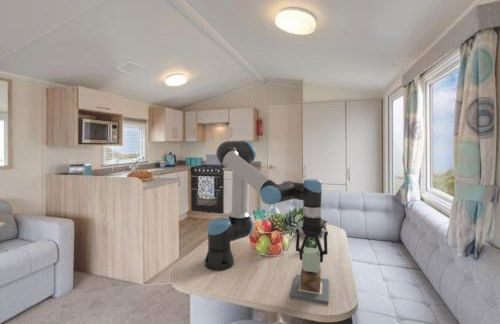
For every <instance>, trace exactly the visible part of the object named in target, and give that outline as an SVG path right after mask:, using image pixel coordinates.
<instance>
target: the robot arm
mask: <svg viewBox="0 0 500 324" xmlns="http://www.w3.org/2000/svg"><path fill="white" fill-rule="evenodd" d="M215 153H216V159H217V161H218V163H220V165H221V166H223V167H224V168H226V169H230V170H231V171H232V175H231V176H232V177H231V178H232V180H231V183H232V184H231V186H232V187H231V211H230V212H229V213H228V217H217V218H214V219H212V220H211V221H209V223H208V225H207V247H208V248H207V253H206V256H205V259H204V266H205V267H206V268H207V269H209V270H212V271H224V270H228V269H229V268H232V267H233V266H234V265H235V264H234V262H235V261H234V260H235V259H234V256H233V253H232V250H231V242H234V241H237V240H240V239H243V238H246V237H247V236H250V235H251V234H252V233H253V230H254V220H253V218H252V217H251V215H250V213H249V212H248V190H249V189H248V188H249V187H248V186H251V187H252V188H254V190H255V191H256V192H258V193H260V198H261V201H262V202H263V203H264V204H266V205H276V204H279V203H283V202H286V201H291V200H299V201H303V203H302V211H303V212H302V214H303V217H302V219H303V223H302V226H301V227H296V228H295V233H296V240H295V241H296V242H295V251H296V252H298V253H299V260H300V261H301V269H302V268H303V265H304V249H305V244H306V241H307V238H308V237H313V238H315V240H316V243H317V249H319V255H318V270H319V271H320V268H321V263H323V262H324V255H328V235H329V230H328V229H326V230H324V229H322V228H321V219H322V217H321V216H322V192H323V189H322V188H323V187H322V181H321V180H319V179H316V178H315V179H314V178H313V179H312V178H307V179H304V180H303V182H295V181H291V180H289V181H286V180H285V181H284V180H283V181H282V182H281V183H280V184H277V183H276V182H274V181H273V180H272V179H270V178H269V177H268V176H266V175H265V174H264V173H263V172H261V171H259V169H257V168H256V167H254V166H253V165H252V163H253V162H254V161H255V159H256V157H257V151H256V147H255V146H254V145H253V144H252V142H249V141H247V140H246V141H244V140H239V141H237V140H236V141H234V140H233V141H231V140H226V141H223V142H221V144H219V145H218V147H217V149H216V151H215ZM248 184H249V185H248ZM302 232H303V233H304V238H303V241H302V243H301V247H300V239H301V233H302ZM321 232H322V234H320V233H321ZM319 235H322V236H323V246H324V247H322V243H321V241H320V237H319ZM323 249H324V250H323Z"/></svg>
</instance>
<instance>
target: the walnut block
mask: <svg viewBox="0 0 500 324" xmlns="http://www.w3.org/2000/svg"><path fill="white" fill-rule="evenodd" d="M321 270H322V268H321V267H320V271H319V270H318V273H316V272H309V271H303V268H302V267H301V271H300V275H301V277H300V290H305V291H311V292H317V293H320V278H322V277H321V273H322V271H321Z"/></svg>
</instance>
